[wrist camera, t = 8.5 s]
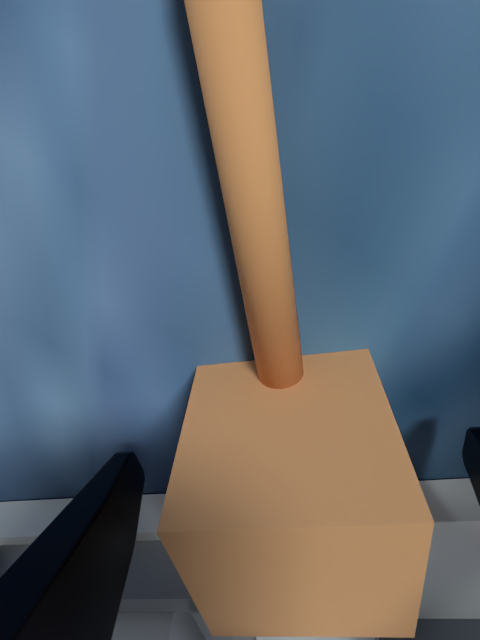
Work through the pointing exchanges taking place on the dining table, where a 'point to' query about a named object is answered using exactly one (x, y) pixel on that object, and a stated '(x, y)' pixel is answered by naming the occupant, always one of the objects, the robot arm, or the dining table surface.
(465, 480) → the board
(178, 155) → the dining table surface
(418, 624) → the grey piece
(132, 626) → the block
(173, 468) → the cable plug
